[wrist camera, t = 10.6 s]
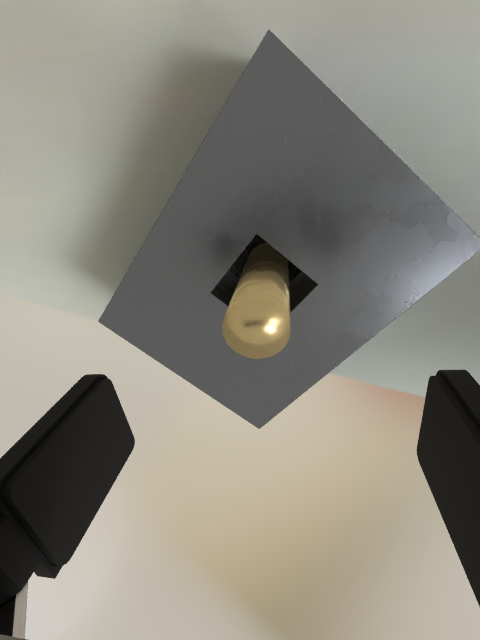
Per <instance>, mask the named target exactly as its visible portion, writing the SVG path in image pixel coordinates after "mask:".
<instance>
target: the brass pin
mask: <svg viewBox="0 0 480 640" xmlns="http://www.w3.org/2000/svg"><path fill="white" fill-rule="evenodd" d="M222 331H223V335H224V338H225V340H226V342H227V344H228V345H229V346H230V347H231V348H232V349H233V350H234V351H235V352H237V353H239V354H240V355H242V356H245V357H248V358H254V359H262V358H268V357H271V356H273V355H275V354H277V353H278V352H280V351H281V350H282V349H283V348H284V347H285V345H286V344H287V342H288V340H289V337H290V301H289V268H288V259H287V258H285V257H284V256H283V255H282V254H281V253H279V252H278V251H277V250H276V249H274V248H273V247H272V246H271V245H270V244H268V243H264V244H260V245H258V246H256V247H255V248H254V249H253V250H252V251H251V252H250V254H249V256H248V259H247V261H246V264H245V266H244V269H243V271H242V274H241V276H240V279H239V281H238V284H237V286H236V289H235V292H234V294H233V297H232V299H231V302H230V304H229V307H228V309H227V312H226V314H225V317H224V320H223V324H222Z"/></svg>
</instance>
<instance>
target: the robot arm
mask: <svg viewBox="0 0 480 640" xmlns="http://www.w3.org/2000/svg"><path fill="white" fill-rule="evenodd" d="M134 443H135V440H134V436H133V434H132V431H131V429H130V426H129V424H128V421H127V419H126V416H125V414H124V411H123V409H122V406H121V404H120V401H119V399H118V396H117V394H116V391H115V389H114V386H113V384H112V382H111V380H110V379H108V378H107V377H106V376H105V375H102V374H92V375H85V376H83V377H82V378H81V379H80V380H79V381H78V382H77V383H76V384H75V385H74V386H73V387H72V388H71V389H70V390H69V391H68V392H67V393H66V394H65V395H64V396H63V397H62V398H61V399H60V400H59V401H58V402H57V403H56V404H55V405H54V406H53V407H52V408H51V409H50V410H49V411H48V412H47V413H46V414H45V415H44V416H43V417H42V418H41V419H40V420H39V421H38V422H37V423H36V424H35V425H34V426H33V427H32V428H31V429H30V430H29V431H28V432H27V433H26V434H25V435H24V436H23V437H22V438H21V439H20V440H19V441H18V442H16V443H15V445H14V446H12V447H11V448H10V449H9V451H7V453H6V454H5V455H3V456H2V458H1V459H0V640H26V639H25V624H26V608H27V591H28V580H29V578H30V577H31V575H32V573H33V572H35V574H36V575H37V576H41V577H48V578H54V579H55V578H56V576H57V574H58V573H59V571H60V569H61V568H62V566H63V565H64V564H66V563H67V562H68V561H69V560H70V558H71V557H72V555H73V554H74V552H75V550H76V548H77V547H78V545H79V543H80V541H81V540H82V538H83V536H84V534H85V533H86V531H87V529H88V527H89V526H90V524H91V522H92V520H93V519H94V517H95V515H96V513H97V512H98V510H99V508H100V506H101V504H102V503H103V501H104V499H105V497H106V496H107V494H108V492H109V490H110V489H111V487H112V485H113V483H114V482H115V480H116V478H117V476H118V474H119V473H120V471H121V469H122V468H123V466H124V464H125V462H126V461H127V459H128V457H129V455H130V454H131V452H132V450H133V448H134ZM417 456H418V460H419V463H420V465H421V468H422V470H423V472H424V475H425V477H426V480H427V482H428V484H429V487H430V489H431V492H432V494H433V496H434V498H435V501H436V503H437V506H438V508H439V510H440V513H441V515H442V518H443V520H444V523H445V524H446V527H447V530H448V532H449V534H450V537H451V539H452V542H453V544H454V546H455V549H456V551H457V554H458V556H459V558H460V561H461V563H462V566H463V568H464V570H465V573H466V575H467V578H468V580H469V582H470V585H471V587H472V589H473V592H474V594H475V596H476V599H477V601H478V603H479V606H480V385H479V384H478V383H477V382H476V381H475V379H474V378H473V377H472V376H471V375H470V373H469V372H467V371H466V370H439V371H438V372H437V374H436V376H430V378H429V381H428V387H427V393H426V399H425V405H424V410H423V417H422V422H421V428H420V433H419V440H418V445H417Z"/></svg>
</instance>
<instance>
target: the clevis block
mask: <svg viewBox="0 0 480 640" xmlns="http://www.w3.org/2000/svg"><path fill="white" fill-rule="evenodd" d="M256 234H257V235H259V236H260V237H261V238H262V239H263V240H265V241H266V242H267V243H268V244H270V245H271V246H272V247H273V248H274V249H276V250H277V251H278V252H279V253H281V254H282V255H283V256H284V257H285V258H287V259H288V260H289V261H290V262H292V263H293V264H294V265H295V266H296V267H298V268H299V269H300V270H301V272H300V273H299V274H298V275H297V276H296V277H295V278H294V279H293V281H292V282H291V283H290V284H289V301H290V337H289V340H288V342H287V344H286V345H285V347H284V348H283V349H282V350H281V351H280V352H278V353H277V354H275V355H273V356H271V357H268V358H262V359H254V358H248V357H245V356H242V355H240V354H239V353H237V352H235V351H234V350H233V349H232V348H231V347H230V346H229V345H228V344H227V342H226V340H225V338H224V335H223V331H222V324H223V320H224V317H225V314H226V312H227V309H228V307H229V304H230V302H231V299H232V297H233V294H234V292H235V289H236V286H237V284H238V281H239V278H238V277H236V276H235V275H234V274H232V273H231V272H230V271H229V268H230V267H231V266H232V265H233V263H234V262H235V261H236V260H237V258H238V257H239V256H240V254H241V253H242V252H243V251H244V249H245V248H246V247H247V245H248V244H249V243H250V242H251V240H252V239H253V238H254V237H255V235H256ZM479 250H480V238H479V237H478V236H477V235H476V234H475V233H474V232H473V231H472V230H471V229H470V228H469V227H468V226H467V225H466V224H465V223H464V222H463V221H462V220H461V219H460V218H459V217H458V216H457V215H456V214H455V213H454V212H453V211H452V210H451V209H450V208H449V207H448V206H447V205H446V204H445V203H444V202H443V201H442V200H441V199H440V198H439V197H438V196H437V195H436V194H435V193H434V192H433V191H432V190H431V189H430V188H429V187H428V186H427V185H426V184H425V183H424V182H423V181H422V180H421V179H420V178H419V177H418V176H417V175H416V174H415V173H414V172H413V171H412V170H411V169H410V168H409V167H408V166H407V165H406V164H405V163H404V162H403V161H401V160H400V159H399V158H398V157H397V156H396V155H395V154H394V153H393V152H392V151H391V150H390V149H389V148H388V147H387V146H386V145H385V144H384V143H383V142H382V141H381V140H380V139H379V138H378V137H377V136H376V135H375V134H374V133H373V132H372V131H371V130H370V129H369V128H368V127H367V126H366V125H365V124H364V123H363V122H362V121H361V120H360V119H359V118H358V117H357V116H356V115H355V114H354V113H353V112H352V111H351V110H350V109H349V108H348V107H347V106H346V105H345V104H344V103H343V102H342V101H341V100H340V99H339V98H338V97H337V96H336V95H335V94H334V93H333V92H332V91H331V90H330V89H329V88H328V87H327V86H326V85H325V84H324V83H323V82H322V81H321V80H320V79H319V78H318V77H316V76H315V75H314V74H313V73H312V72H311V71H310V70H309V69H308V68H307V67H306V66H305V65H304V64H303V63H302V62H301V61H300V60H299V59H298V58H297V57H296V56H295V55H294V54H293V53H292V52H291V51H290V50H289V49H288V48H287V47H286V46H285V45H284V44H283V43H282V42H281V41H280V40H279V39H278V38H277V37H276V36H275V35H274V34H273V33H272V32H271V31H270V30H268V31H267V33H266V35H265V37H264V38H263V40H262V42H261V43H260V45H259V47H258V49H257V50H256V52H255V54H254V55H253V57H252V59H251V61H250V62H249V64H248V66H247V67H246V69H245V71H244V73H243V74H242V76H241V78H240V79H239V81H238V83H237V85H236V86H235V88H234V90H233V91H232V93H231V95H230V96H229V98H228V100H227V102H226V103H225V105H224V107H223V108H222V110H221V112H220V114H219V115H218V117H217V119H216V120H215V122H214V124H213V126H212V127H211V129H210V131H209V132H208V134H207V136H206V138H205V139H204V141H203V143H202V144H201V146H200V148H199V150H198V151H197V153H196V155H195V156H194V158H193V160H192V162H191V163H190V165H189V167H188V168H187V170H186V172H185V174H184V175H183V177H182V179H181V180H180V182H179V184H178V186H177V187H176V189H175V191H174V192H173V194H172V196H171V198H170V199H169V201H168V203H167V204H166V206H165V208H164V210H163V211H162V213H161V215H160V216H159V218H158V220H157V222H156V223H155V225H154V227H153V228H152V230H151V232H150V234H149V235H148V237H147V239H146V240H145V242H144V244H143V245H142V247H141V249H140V251H139V252H138V254H137V256H136V257H135V259H134V261H133V263H132V264H131V266H130V268H129V269H128V271H127V273H126V275H125V276H124V278H123V280H122V281H121V283H120V285H119V287H118V288H117V290H116V292H115V293H114V295H113V297H112V299H111V300H110V302H109V304H108V305H107V307H106V309H105V311H104V312H103V314H102V316H101V317H100V319H99V321H98V322H100V323H101V324H103V325H104V326H106V327H107V328H109V329H110V330H112V331H113V332H115V333H116V334H118V335H119V336H121V337H122V338H124V339H125V340H127V341H128V342H130V343H131V344H133V345H134V346H136V347H137V348H139V349H140V350H142V351H143V352H145V353H146V354H148V355H149V356H151V357H152V358H154V359H155V360H157V361H158V362H160V363H161V364H163V365H164V366H166V367H167V368H169V369H170V370H172V371H173V372H175V373H176V374H178V375H179V376H181V377H182V378H184V379H185V380H187V381H188V382H190V383H191V384H193V385H194V386H196V387H197V388H199V389H200V390H202V391H203V392H205V393H206V394H208V395H209V396H211V397H212V398H214V399H215V400H217V401H218V402H220V403H221V404H223V405H224V406H226V407H227V408H229V409H230V410H232V411H233V412H235V413H236V414H238V415H239V416H241V417H242V418H244V419H245V420H247V421H248V422H250V423H251V424H253V425H254V426H256V427H257V428H259V429H260V428H261V427H262V426H264V425H265V424H266V423H267V422H269V421H270V420H271V419H272V418H273V417H275V416H276V415H277V414H278V413H279V412H281V411H282V410H283V409H285V408H286V407H287V406H288V405H289V404H291V403H292V402H293V401H294V400H295V399H297V398H298V397H299V396H301V395H302V394H303V393H304V392H305V391H307V390H308V389H309V388H310V387H312V386H313V385H314V384H315V383H317V382H318V381H319V380H320V379H321V378H323V377H324V376H325V375H326V374H328V373H329V372H330V371H331V370H333V369H334V368H335V367H336V366H338V365H339V364H340V363H341V362H342V361H344V360H345V359H346V358H347V357H349V356H350V355H351V354H352V353H354V352H355V351H356V350H357V349H358V348H360V347H361V346H362V345H363V344H365V343H366V342H367V341H368V340H370V339H371V338H372V337H373V336H374V335H376V334H377V333H378V332H379V331H381V330H382V329H383V328H384V327H386V326H387V325H388V324H389V323H390V322H392V321H393V320H394V319H395V318H397V317H398V316H399V315H400V314H402V313H403V312H404V311H405V310H406V309H408V308H409V307H410V306H411V305H413V304H414V303H415V302H416V301H418V300H419V299H420V298H421V297H422V296H424V295H425V294H426V293H427V292H429V291H430V290H431V289H432V288H434V287H435V286H436V285H437V284H438V283H440V282H441V281H442V280H443V279H445V278H446V277H447V276H448V275H450V274H451V273H452V272H453V271H454V270H456V269H457V268H458V267H459V266H461V265H462V264H463V263H464V262H466V261H467V260H468V259H469V258H471V257H472V256H473V255H474V254H475V253H477V252H478V251H479Z"/></svg>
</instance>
